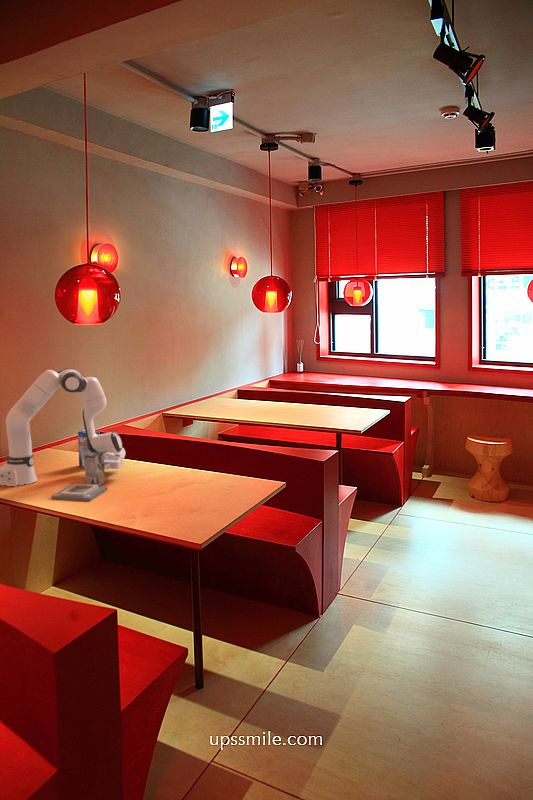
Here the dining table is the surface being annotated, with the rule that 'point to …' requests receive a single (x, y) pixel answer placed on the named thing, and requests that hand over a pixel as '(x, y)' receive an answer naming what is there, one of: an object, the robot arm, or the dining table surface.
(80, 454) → the milk carton
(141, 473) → the dining table surface
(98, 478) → the coffee box
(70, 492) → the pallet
